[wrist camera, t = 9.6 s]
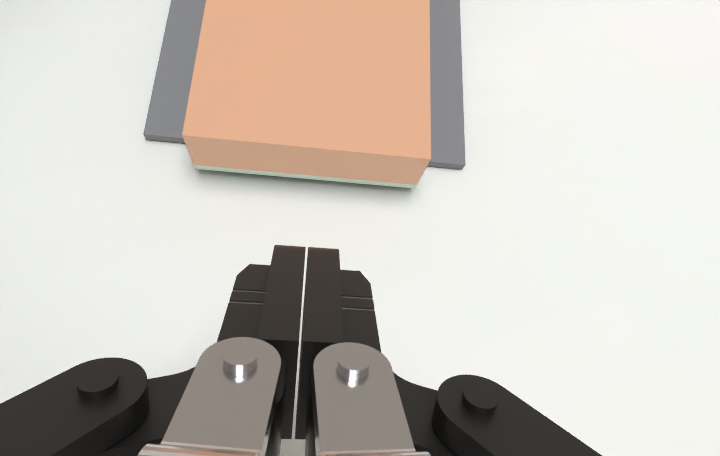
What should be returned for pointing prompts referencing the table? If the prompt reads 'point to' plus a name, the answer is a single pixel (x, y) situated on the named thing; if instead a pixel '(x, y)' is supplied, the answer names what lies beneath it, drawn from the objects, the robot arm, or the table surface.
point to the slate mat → (444, 79)
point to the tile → (313, 90)
